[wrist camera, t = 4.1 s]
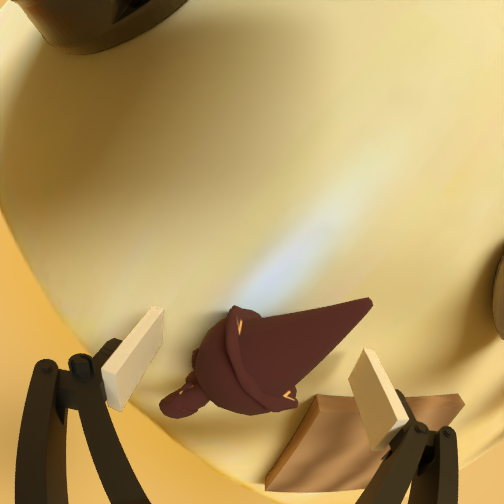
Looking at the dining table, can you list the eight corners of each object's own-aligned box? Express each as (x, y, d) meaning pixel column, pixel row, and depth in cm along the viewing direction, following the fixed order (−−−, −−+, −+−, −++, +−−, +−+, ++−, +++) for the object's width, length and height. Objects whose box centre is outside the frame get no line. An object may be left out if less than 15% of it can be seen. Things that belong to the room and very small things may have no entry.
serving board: (265, 478, 25) (264, 490, 23) (316, 394, 20) (319, 411, 18) (383, 475, 25) (386, 485, 23) (457, 393, 20) (465, 404, 18)
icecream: (341, 249, 10) (118, 373, 15) (412, 384, 10) (185, 456, 14) (335, 237, 17) (171, 336, 21) (387, 329, 16) (220, 404, 21)
